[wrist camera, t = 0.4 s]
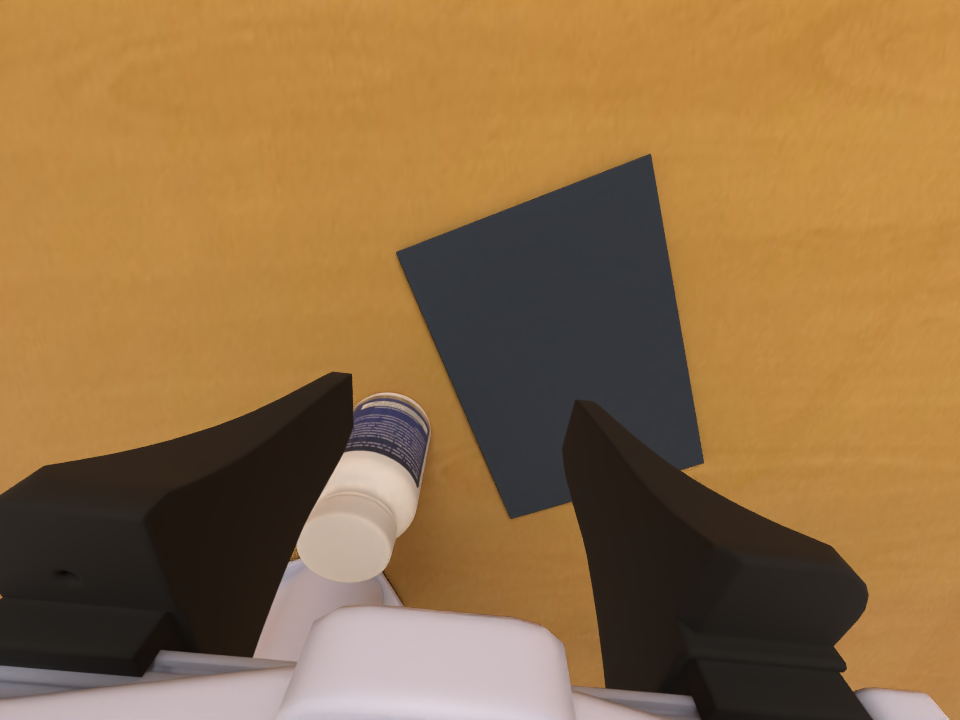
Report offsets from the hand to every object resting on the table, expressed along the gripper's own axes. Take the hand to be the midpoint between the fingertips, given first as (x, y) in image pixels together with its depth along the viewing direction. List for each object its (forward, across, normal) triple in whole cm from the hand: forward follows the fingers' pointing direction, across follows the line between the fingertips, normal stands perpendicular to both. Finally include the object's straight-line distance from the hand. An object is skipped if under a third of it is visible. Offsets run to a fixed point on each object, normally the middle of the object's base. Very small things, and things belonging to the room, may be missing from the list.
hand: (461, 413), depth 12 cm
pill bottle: (+10, +4, +9) cm, 14 cm away
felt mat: (+11, -6, +3) cm, 13 cm away
